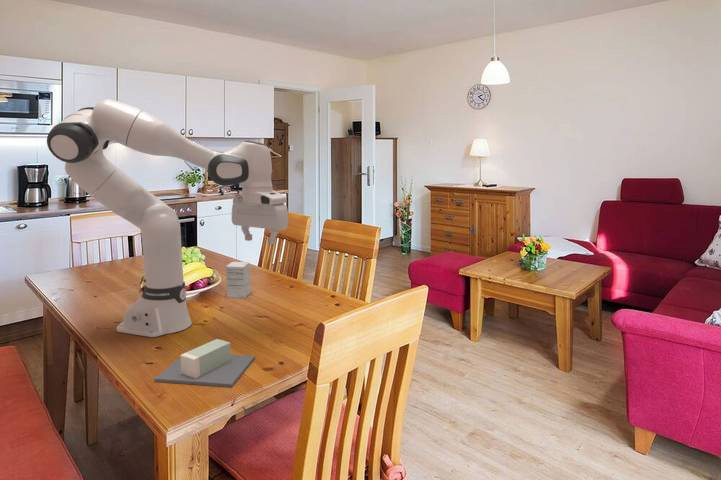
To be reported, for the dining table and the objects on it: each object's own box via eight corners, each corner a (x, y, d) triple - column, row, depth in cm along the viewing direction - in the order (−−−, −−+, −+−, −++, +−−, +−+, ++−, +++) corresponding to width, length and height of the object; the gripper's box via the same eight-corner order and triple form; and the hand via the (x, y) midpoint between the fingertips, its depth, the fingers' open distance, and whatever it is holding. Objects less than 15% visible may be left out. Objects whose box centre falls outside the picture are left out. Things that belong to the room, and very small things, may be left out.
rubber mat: (154, 381, 116) (154, 378, 116) (186, 354, 132) (186, 351, 132) (231, 387, 114) (231, 384, 114) (254, 358, 129) (254, 355, 129)
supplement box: (233, 292, 189) (231, 261, 187) (251, 292, 189) (250, 262, 186) (226, 297, 182) (224, 266, 180) (245, 298, 181) (243, 266, 179)
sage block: (217, 355, 129) (181, 373, 119) (216, 338, 128) (180, 355, 118) (231, 360, 127) (195, 378, 116) (230, 342, 126) (194, 359, 116)
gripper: (225, 195, 143) (228, 240, 146) (276, 199, 133) (278, 247, 135) (240, 193, 148) (242, 236, 151) (290, 197, 138) (292, 243, 141)
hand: (260, 241), depth 143 cm, fingers open, 8 cm apart
